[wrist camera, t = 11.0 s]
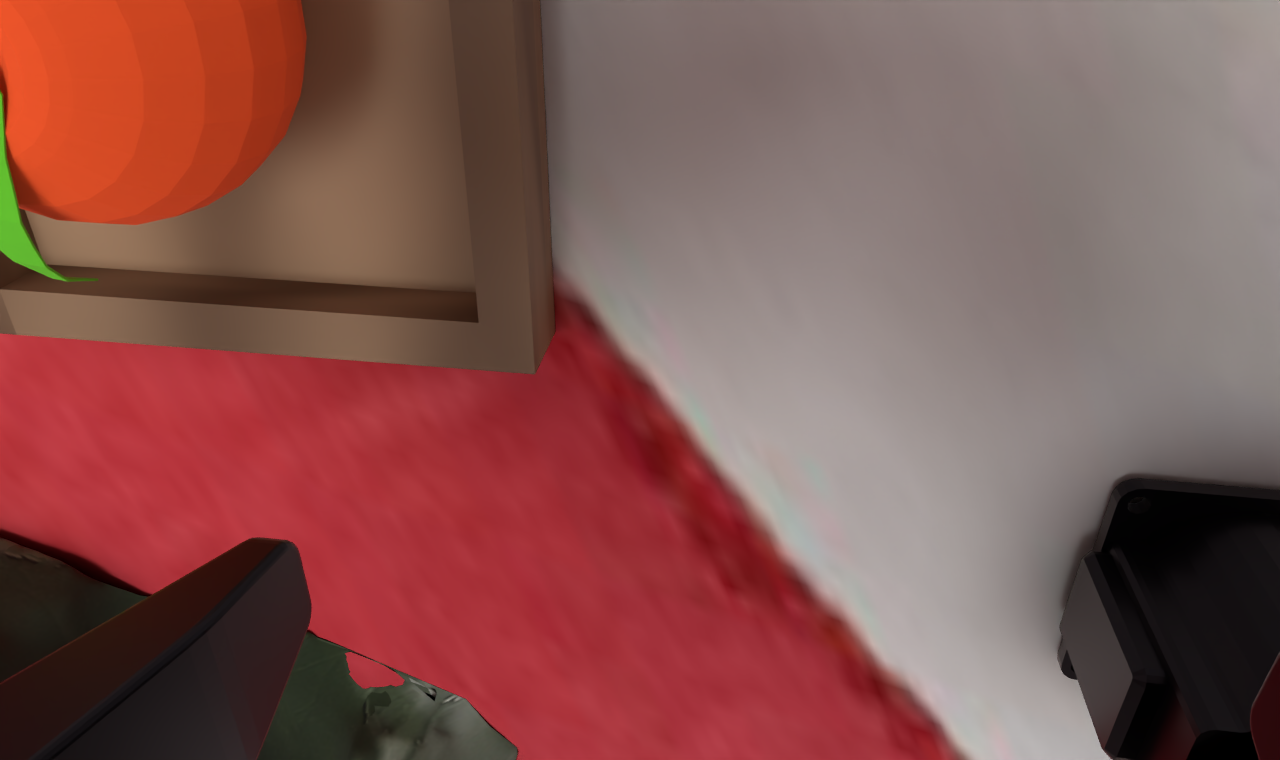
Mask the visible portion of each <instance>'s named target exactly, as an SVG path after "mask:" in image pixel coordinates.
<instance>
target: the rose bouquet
mask: <svg viewBox="0 0 1280 760" xmlns="http://www.w3.org/2000/svg"><path fill="white" fill-rule="evenodd" d="M146 598H147V596H140V595H137V594H134V593H131V592H129V591H126V590H123V589H120V588H117V587H114V586H111V585H108V584H105V583H102V582H100V581H97V580H95V579H92V578H90V577H88V576H86V575H84V574H82V573H81V572H80V571H78V570H76V569H75V568H73V567H71V566H69V565H67V564H65V563H64V562H62V561H60V560H58V559H55V558H52V557H50V556H47V555H45V554H42V553H40V552H38V551H35V550H32V549H29V548H27V547H24V546H21V545H19V544H16V543H14V542H11V541H9V540H7V539H3V538H0V683H1V682H3V681H4V680H6V679H8V678H10V677H11V676H13V675H15V674H17V673H18V672H20V671H22V670H23V669H25V668H27V667H29V666H30V665H32V664H34V663H35V662H37V661H39V660H41V659H42V658H44V657H46V656H48V655H49V654H51V653H53V652H54V651H56V650H58V649H60V648H61V647H63V646H65V645H67V644H68V643H70V642H72V641H73V640H75V639H77V638H79V637H80V636H82V635H84V634H85V633H87V632H89V631H91V630H92V629H94V628H96V627H98V626H99V625H101V624H103V623H104V622H106V621H108V620H110V619H111V618H113V617H115V616H116V615H118V614H120V613H122V612H123V611H125V610H127V609H129V608H130V607H132V606H134V605H135V604H137V603H139V602H141V601H142V600H144V599H146ZM347 652H353V653H355V654H358V653H356V652H354V651H351V650H349V649H347V648H344V647H342V646H339V645H337V644H334V643H332V642H330V641H327V640H324V639H321V638H318V637H316V636H315V635H313V634H312V633H310V632H306V635H305V637H304V640H303V642H302V645H301V648H300V650H299V653H298V655H297V658H296V660H295V663H294V666H293V668H292V671H291V673H290V676H289V679H288V681H287V684H286V686H285V689H284V691H283V694H282V697H281V699H280V702H279V704H278V707H277V710H276V712H275V715H274V717H273V720H272V722H271V725H270V728H269V730H268V733H267V735H266V738H265V740H264V743H263V746H262V748H261V751H260V753H259V755H258V758H257V760H516V758H517V755H518V753H517V747H515V746H514V745H513V744H512V743H510V742H509V741H508V740H507V739H505V738H504V737H503V736H501V735H500V734H499V733H498V732H496V731H495V730H494V729H493V728H491V727H490V726H489V725H488V724H487V723H486V722H485V720H484V719H483V718H482V717H481V716H480V715H479V714H478V712H477V711H476V710H475V709H474V708H473V707H472V706H471V705H470V703H469V702H468V701H467V700H466V699H464V698H462V697H459V696H457V695H455V694H452V693H450V692H448V691H445V690H443V689H441V688H438V687H436V686H433V685H431V684H429V683H426V682H424V681H422V680H419V679H417V678H415V677H412V676H410V675H408V674H405V673H403V672H400V671H398V670H396V669H393V668H391V667H389V666H386V665H384V664H382V663H380V664H382V665H384V666H386V667H388V668H389V669H391V670H393V671H394V672H396V673H397V674H399V675H400V676H401V677H402V678H403V679H404V680H405V681H404V683H403V685H400V686H397V687H395V686H391V685H390V686H386V687H370V688H367V689H363V688H361V687H360V686H359V685H358V684H357V683H356V682H355V681H354V680H353V679H352V678H351V676H350V675H349V673H350V671H349V669H348V663H347V661H346V655H345V653H347ZM358 655H361V654H358ZM361 656H363V655H361ZM363 657H365V656H363ZM365 658H368V657H365ZM368 659H370V658H368ZM370 660H372V659H370ZM373 661H375V660H373ZM375 662H377V661H375ZM378 663H379V662H378Z"/></svg>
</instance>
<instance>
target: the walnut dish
mask: <svg viewBox="0 0 1280 760" xmlns="http://www.w3.org/2000/svg"><path fill="white" fill-rule="evenodd" d="M301 4H302V10H303V16H304V22H305V28H306V35H307V40H306V52H305V65H304V77H303V83H302V89H301V95H300V98H299V101H298V103H297V106H296V109H295V111H294V114H293V117H292V119H291V122H290V125H289V127H288V130H287V132H286V135H285V136H284V138H283V139H282V140H281V141H280V143H279V144H278V145H277V146H276V147H275V149H274V150H273V151H272V152H271V154H270V155H269V156H268V157H267V159H266V160H265V161H264V162H263V163H262V165H261V166H260V167H259V168H258V169H257V170H256V171H255V172H254V173H253V174H252V175H251V176H250V177H249V178H248V179H247V180H246V181H245V182H244V183H243V184H242V185H241V186H239V187H237V188H236V189H234V190H232V191H231V192H229V193H227V194H226V195H224V196H222V197H221V198H219V199H218V200H216V201H214V202H213V203H211V204H209V205H208V206H205V207H202V208H199V209H196V210H193V211H190V212H187V213H185V214H182V215H179V216H176V217H171V218H166V219H162V220H157V221H153V222H148V223H144V224H139V225H125V224H105V223H89V222H75V221H61V220H55V219H52V218H49V217H46V216H43V215H39V214H36V213H33V212H30V211H27V210H24V209H21V208H19V210H20V215H21V219H22V223H23V225H24V227H25V228H26V230H27V232H28V234H29V236H30V238H31V240H32V242H33V244H34V246H35V247H36V249H37V250H38V252H39V253H40V255H41V256H42V258H43V260H44V261H45V263H46V264H47V266H49V267H50V268H52V269H53V270H55V271H56V272H58V273H60V274H61V275H63V276H64V277H79V278H98V281H75V282H67V281H62V280H57V279H52V278H50V277H48V276H45V275H43V274H41V273H39V272H36V271H34V270H32V269H29V268H27V267H25V266H23V265H20V264H18V263H16V262H14V261H12V260H11V259H10V258H9V257H7V256H6V255H5V254H4V253H3V252H2V251H0V333H2V334H15V335H28V336H41V337H54V338H67V339H80V340H93V341H107V342H120V343H133V344H146V345H159V346H172V347H185V348H198V349H211V350H224V351H237V352H250V353H263V354H276V355H290V356H303V357H316V358H329V359H342V360H355V361H368V362H381V363H394V364H407V365H420V366H433V367H446V368H459V369H472V370H486V371H499V372H512V373H525V374H535V373H536V371H537V369H538V367H539V365H540V363H541V361H542V359H543V357H544V354H545V352H546V350H547V348H548V346H549V344H550V342H551V340H552V338H553V336H554V334H555V314H554V292H553V270H552V248H551V226H550V204H549V183H548V161H547V139H546V117H545V95H544V73H543V52H542V30H541V8H540V0H301Z"/></svg>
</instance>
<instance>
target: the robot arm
mask: <svg viewBox="0 0 1280 760" xmlns="http://www.w3.org/2000/svg"><path fill="white" fill-rule="evenodd" d="M1136 497H1144V498H1143V500H1142V501H1140V502H1138V503H1133V504H1130V503H1129V502H1130V501H1131V500H1132V499H1134V498H1136ZM310 618H311V599H310V595H309V591H308V586H307V582H306V578H305V574H304V570H303V566H302V561H301V557H300V553H299V551H298V548H297V547H296V546H295V544H294V543H293V542H290V541H288V540H280V539H270V538H260V537H258V538H251V539H248V540H246V541H244V542H242V543H240V544H239V545H237V546H235V547H234V548H232V549H230V550H228V551H227V552H225V553H223V554H222V555H220V556H218V557H216V558H215V559H213V560H211V561H209V562H208V563H206V564H204V565H203V566H201V567H199V568H197V569H196V570H194V571H192V572H191V573H189V574H187V575H185V576H184V577H182V578H180V579H178V580H177V581H175V582H173V583H172V584H170V585H168V586H166V587H165V588H163V589H161V590H160V591H158V592H156V593H154V594H153V595H151V596H149V597H147V598H146V599H144V600H142V601H141V602H139V603H137V604H135V605H134V606H132V607H130V608H129V609H127V610H125V611H123V612H122V613H120V614H118V615H116V616H115V617H113V618H111V619H110V620H108V621H106V622H104V623H103V624H101V625H99V626H98V627H96V628H94V629H92V630H91V631H89V632H87V633H85V634H84V635H82V636H80V637H79V638H77V639H75V640H73V641H72V642H70V643H68V644H67V645H65V646H63V647H61V648H60V649H58V650H56V651H54V652H53V653H51V654H49V655H48V656H46V657H44V658H42V659H41V660H39V661H37V662H35V663H34V664H32V665H30V666H29V667H27V668H25V669H23V670H22V671H20V672H18V673H17V674H15V675H13V676H11V677H10V678H8V679H6V680H4V681H3V682H1V683H0V760H257V758H258V755H259V753H260V751H261V748H262V746H263V743H264V740H265V738H266V735H267V733H268V730H269V728H270V725H271V722H272V720H273V717H274V715H275V712H276V710H277V707H278V704H279V702H280V699H281V697H282V694H283V691H284V689H285V686H286V684H287V681H288V679H289V676H290V673H291V671H292V668H293V666H294V663H295V660H296V658H297V655H298V653H299V650H300V648H301V645H302V642H303V640H304V637H305V635H306V632H307V629H308V626H309V623H310ZM1060 631H1061V634H1062V637H1063V639H1062V642H1061V645H1060V648H1059V651H1058V662H1059V665H1060V668H1061V670H1062V672H1063V674H1064V675H1066V676H1067V677H1069V678H1071V679H1075V680H1078V682H1079V685H1080V688H1081V690H1082V693H1083V696H1084V699H1085V702H1086V705H1087V708H1088V710H1089V713H1090V716H1091V719H1092V722H1093V725H1094V727H1095V730H1096V733H1097V736H1098V739H1099V742H1100V744H1101V747H1102V749H1103V750H1104V752H1105V753H1106V754H1107V755H1108V756H1109V757H1110V758H1111V759H1112V760H1280V490H1270V489H1258V488H1246V487H1234V486H1222V485H1210V484H1198V483H1186V482H1174V481H1162V480H1150V479H1130V480H1127V481H1124V482H1122V483H1121V484H1119V485H1118V486H1117V487H1116V488H1115V489H1114V491H1113V493H1112V495H1111V498H1110V501H1109V504H1108V507H1107V510H1106V513H1105V516H1104V519H1103V522H1102V525H1101V528H1100V531H1099V533H1098V536H1097V539H1096V542H1095V545H1094V548H1093V551H1090V552H1089V553H1088V554H1086V555H1085V556H1084V557H1083V558H1082V560H1081V563H1080V566H1079V569H1078V572H1077V575H1076V578H1075V581H1074V584H1073V587H1072V590H1071V593H1070V596H1069V599H1068V602H1067V605H1066V608H1065V611H1064V614H1063V617H1062V620H1061V623H1060Z"/></svg>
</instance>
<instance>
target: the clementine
mask: <svg viewBox="0 0 1280 760" xmlns="http://www.w3.org/2000/svg"><path fill="white" fill-rule="evenodd" d="M306 40H307V35H306V28H305V22H304V16H303V10H302V4H301V0H0V251H2V252H3V253H4V254H5V255H6V256H7V257H9V258H10V259H11V260H12V261H14V262H16V263H18V264H20V265H23V266H25V267H27V268H29V269H32V270H34V271H36V272H39V273H41V274H43V275H45V276H48V277H50V278H52V279H57V280H62V281H67V282H75V281H98V278H79V277H64V276H63V275H61V274H60V273H58V272H56V271H55V270H53V269H52V268H50V267H49V266H47V264H46V263H45V261H44V260H43V258H42V256H41V255H40V253H39V252H38V250H37V249H36V247H35V246H34V244H33V242H32V240H31V238H30V236H29V234H28V232H27V230H26V228H25V227H24V225H23V223H22V219H21V215H20V210H19V208H21V209H24V210H27V211H30V212H33V213H36V214H39V215H43V216H46V217H49V218H52V219H55V220H61V221H75V222H89V223H105V224H125V225H139V224H144V223H148V222H153V221H157V220H162V219H166V218H171V217H176V216H179V215H182V214H185V213H187V212H190V211H193V210H196V209H199V208H202V207H205V206H208V205H209V204H211V203H213V202H214V201H216V200H218V199H219V198H221V197H222V196H224V195H226V194H227V193H229V192H231V191H232V190H234V189H236V188H237V187H239V186H241V185H242V184H243V183H244V182H245V181H246V180H247V179H248V178H249V177H250V176H251V175H252V174H253V173H254V172H255V171H256V170H257V169H258V168H259V167H260V166H261V165H262V163H263V162H264V161H265V160H266V159H267V157H268V156H269V155H270V154H271V152H272V151H273V150H274V149H275V147H276V146H277V145H278V144H279V143H280V141H281V140H282V139H283V138H284V136H285V135H286V132H287V130H288V127H289V125H290V122H291V119H292V117H293V114H294V111H295V109H296V106H297V103H298V101H299V98H300V95H301V89H302V83H303V77H304V65H305V52H306Z"/></svg>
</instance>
